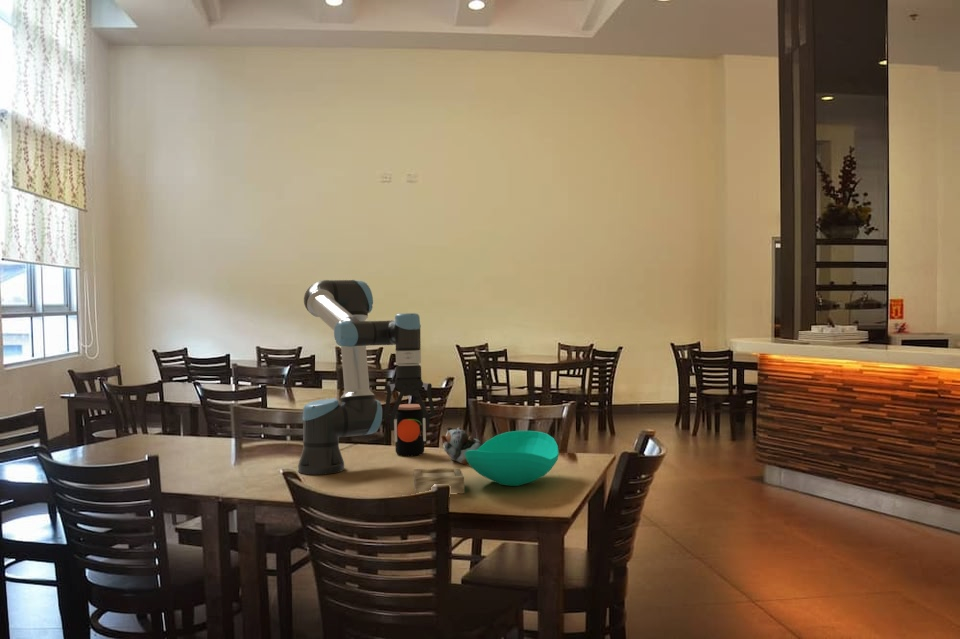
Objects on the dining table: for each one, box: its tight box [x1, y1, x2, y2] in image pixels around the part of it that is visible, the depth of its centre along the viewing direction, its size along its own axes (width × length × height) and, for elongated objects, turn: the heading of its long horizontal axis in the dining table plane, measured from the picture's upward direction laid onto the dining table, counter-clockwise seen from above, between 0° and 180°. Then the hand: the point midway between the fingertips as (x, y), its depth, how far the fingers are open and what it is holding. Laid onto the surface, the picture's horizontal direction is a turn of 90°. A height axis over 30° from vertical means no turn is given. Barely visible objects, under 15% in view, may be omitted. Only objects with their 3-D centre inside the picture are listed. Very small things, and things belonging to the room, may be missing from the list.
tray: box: [413, 467, 465, 494], centre depth 235 cm, size 14×14×5 cm
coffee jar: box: [394, 403, 425, 457], centre depth 293 cm, size 11×11×18 cm
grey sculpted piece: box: [440, 426, 484, 466], centre depth 278 cm, size 15×12×14 cm
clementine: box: [397, 418, 420, 442], centre depth 237 cm, size 8×7×7 cm
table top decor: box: [465, 430, 560, 487], centre depth 242 cm, size 40×28×13 cm
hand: (410, 440), depth 237 cm, fingers closed on clementine, 8 cm apart
